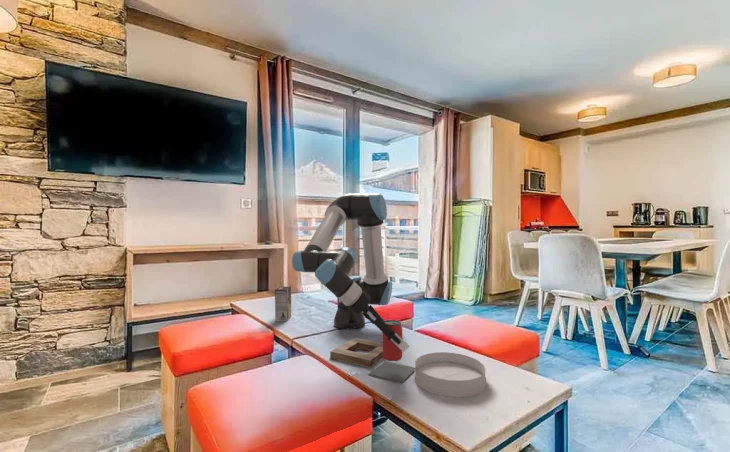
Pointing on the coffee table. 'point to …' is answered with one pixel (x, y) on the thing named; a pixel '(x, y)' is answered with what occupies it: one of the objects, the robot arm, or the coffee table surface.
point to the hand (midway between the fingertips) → (402, 344)
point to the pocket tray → (357, 358)
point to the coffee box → (283, 303)
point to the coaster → (392, 372)
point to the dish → (450, 374)
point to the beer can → (389, 348)
